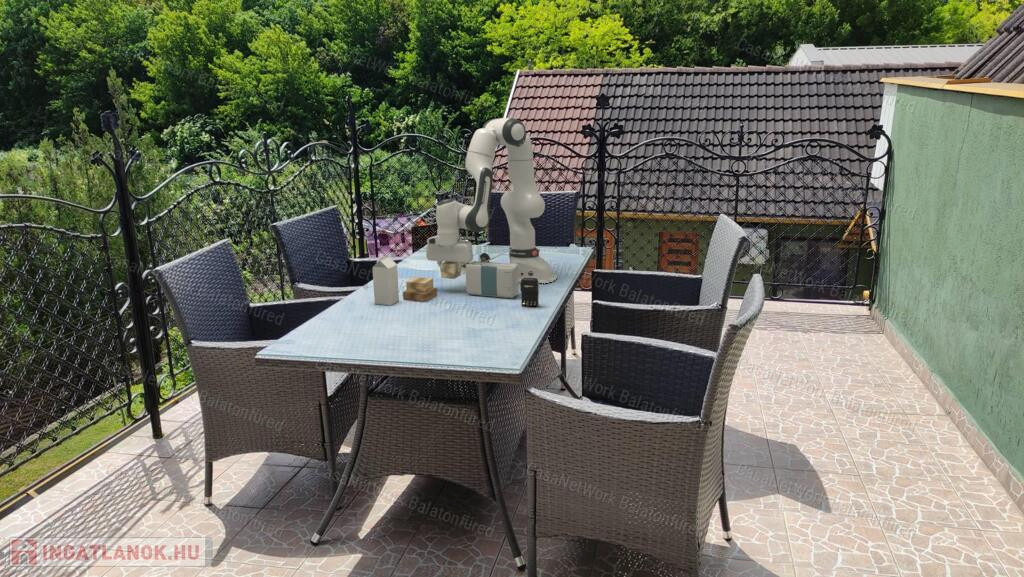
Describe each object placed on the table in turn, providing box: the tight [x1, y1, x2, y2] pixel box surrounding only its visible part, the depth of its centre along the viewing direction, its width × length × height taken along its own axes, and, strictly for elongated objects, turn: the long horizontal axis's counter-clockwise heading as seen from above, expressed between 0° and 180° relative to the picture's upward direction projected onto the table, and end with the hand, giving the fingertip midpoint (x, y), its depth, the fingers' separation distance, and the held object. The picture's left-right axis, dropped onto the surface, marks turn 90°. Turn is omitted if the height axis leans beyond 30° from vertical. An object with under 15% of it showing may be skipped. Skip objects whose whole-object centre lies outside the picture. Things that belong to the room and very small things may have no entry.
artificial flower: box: [461, 252, 491, 275], centre depth 327 cm, size 9×22×10 cm, turn 140°
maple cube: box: [440, 261, 462, 280], centre depth 287 cm, size 6×6×6 cm
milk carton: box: [372, 253, 400, 306], centre depth 272 cm, size 7×7×19 cm
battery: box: [519, 277, 540, 307], centre depth 265 cm, size 7×4×11 cm, turn 76°
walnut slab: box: [402, 287, 438, 303], centre depth 280 cm, size 10×10×4 cm
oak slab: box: [405, 276, 434, 293], centre depth 279 cm, size 8×8×4 cm
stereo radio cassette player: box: [465, 248, 519, 299], centre depth 281 cm, size 21×8×20 cm, turn 70°
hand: (450, 271), depth 287 cm, fingers closed on maple cube, 6 cm apart
